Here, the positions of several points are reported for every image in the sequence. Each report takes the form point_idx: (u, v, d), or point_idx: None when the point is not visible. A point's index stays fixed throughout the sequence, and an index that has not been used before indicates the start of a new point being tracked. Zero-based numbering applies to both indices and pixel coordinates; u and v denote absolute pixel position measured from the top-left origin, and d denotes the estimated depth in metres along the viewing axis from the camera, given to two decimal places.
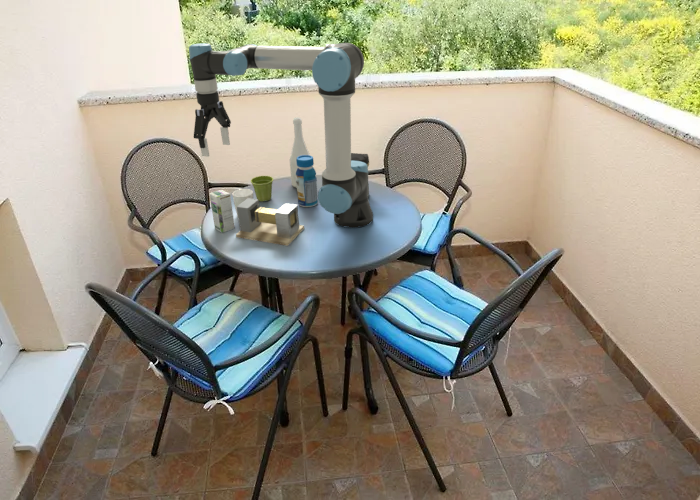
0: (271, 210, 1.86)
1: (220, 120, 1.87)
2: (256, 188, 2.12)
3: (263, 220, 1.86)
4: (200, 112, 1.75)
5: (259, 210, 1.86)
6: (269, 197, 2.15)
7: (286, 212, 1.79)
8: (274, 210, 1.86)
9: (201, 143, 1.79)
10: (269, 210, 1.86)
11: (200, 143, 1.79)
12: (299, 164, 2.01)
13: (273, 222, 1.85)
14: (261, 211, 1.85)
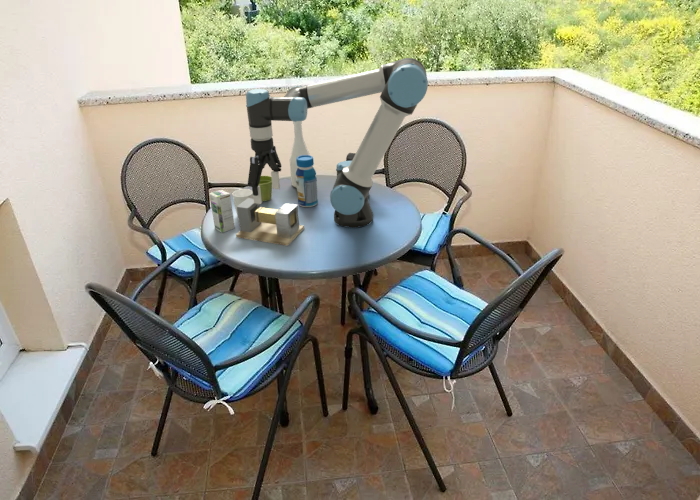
0: (271, 210, 1.86)
1: (272, 165, 1.81)
2: None
3: (263, 220, 1.86)
4: (255, 160, 1.69)
5: (259, 210, 1.86)
6: (269, 197, 2.15)
7: (286, 212, 1.79)
8: (274, 210, 1.86)
9: (254, 191, 1.73)
10: (269, 210, 1.86)
11: (253, 191, 1.73)
12: (299, 164, 2.01)
13: (273, 222, 1.85)
14: (261, 211, 1.85)
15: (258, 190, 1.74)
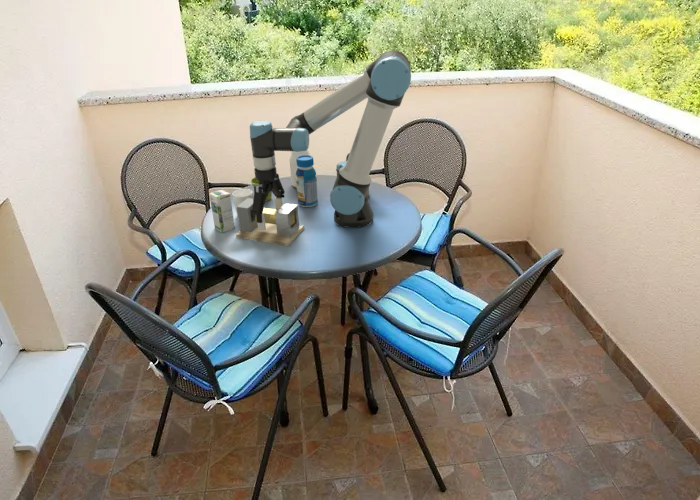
0: (271, 210, 1.86)
1: (275, 192, 1.86)
2: None
3: None
4: (259, 189, 1.74)
5: None
6: (269, 197, 2.15)
7: (286, 212, 1.79)
8: (274, 210, 1.86)
9: (259, 218, 1.78)
10: (269, 210, 1.86)
11: (258, 218, 1.78)
12: (299, 164, 2.01)
13: (273, 222, 1.85)
14: None
15: (262, 217, 1.79)
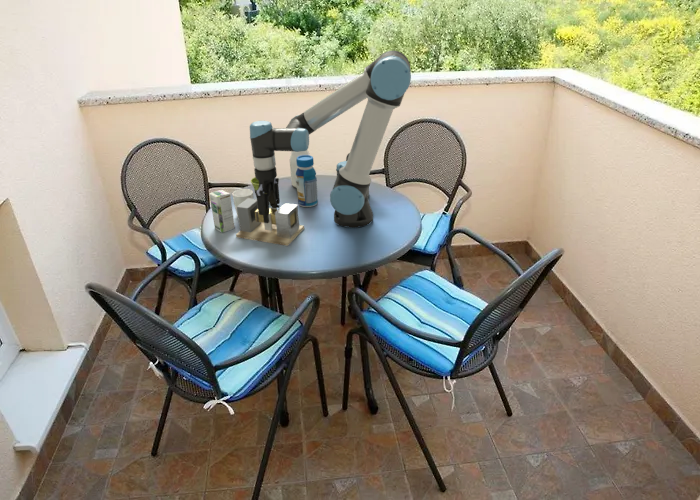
0: (271, 210, 1.86)
1: (272, 197, 1.84)
2: (256, 188, 2.12)
3: (263, 220, 1.86)
4: (260, 193, 1.75)
5: None
6: None
7: (286, 212, 1.79)
8: (274, 210, 1.86)
9: (265, 218, 1.83)
10: (269, 210, 1.86)
11: (264, 218, 1.83)
12: (299, 164, 2.01)
13: (273, 222, 1.85)
14: None
15: (269, 218, 1.83)
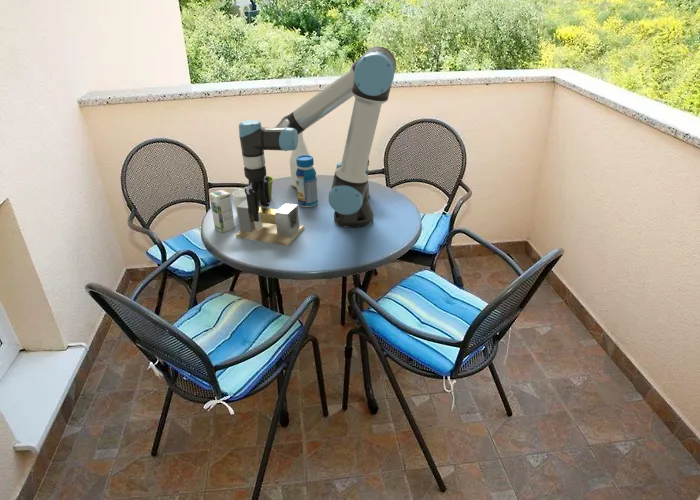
0: (261, 209, 1.87)
1: (262, 196, 1.86)
2: None
3: (253, 219, 1.87)
4: (250, 192, 1.76)
5: None
6: None
7: (286, 212, 1.79)
8: (264, 209, 1.87)
9: (255, 217, 1.84)
10: (259, 209, 1.87)
11: (254, 217, 1.84)
12: (299, 164, 2.01)
13: (263, 220, 1.86)
14: None
15: (259, 216, 1.85)
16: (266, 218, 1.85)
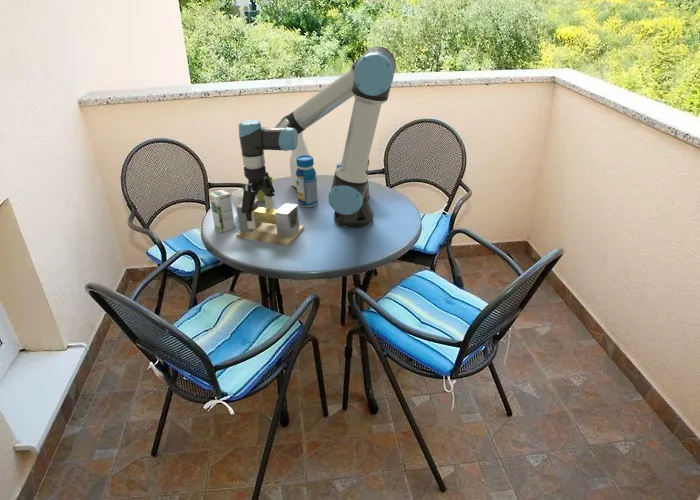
0: (261, 209, 1.87)
1: (265, 190, 1.87)
2: None
3: None
4: (248, 187, 1.75)
5: None
6: None
7: (286, 212, 1.79)
8: (264, 209, 1.87)
9: (248, 217, 1.79)
10: (259, 209, 1.87)
11: (247, 217, 1.79)
12: (299, 164, 2.01)
13: (263, 220, 1.86)
14: None
15: (252, 216, 1.80)
16: (266, 218, 1.85)
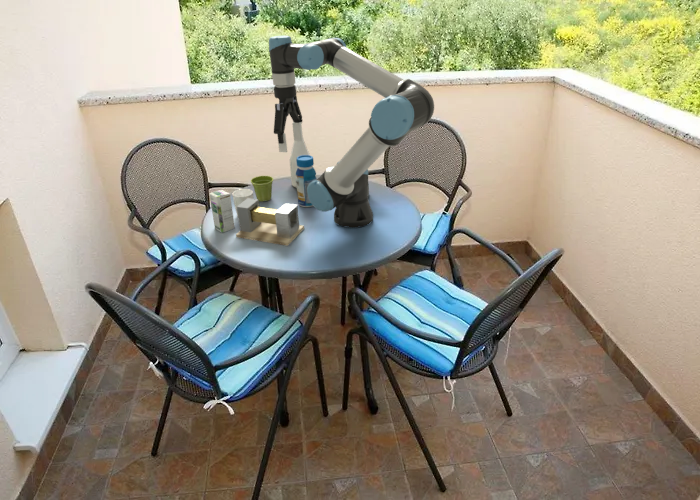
0: (261, 209, 1.87)
1: (294, 115, 1.83)
2: (256, 188, 2.12)
3: (253, 219, 1.87)
4: (280, 106, 1.70)
5: None
6: (269, 197, 2.15)
7: (286, 212, 1.79)
8: (264, 209, 1.87)
9: (280, 138, 1.74)
10: (259, 209, 1.87)
11: (279, 138, 1.74)
12: (299, 164, 2.01)
13: (263, 220, 1.86)
14: (251, 210, 1.87)
15: (284, 138, 1.75)
16: (266, 218, 1.85)
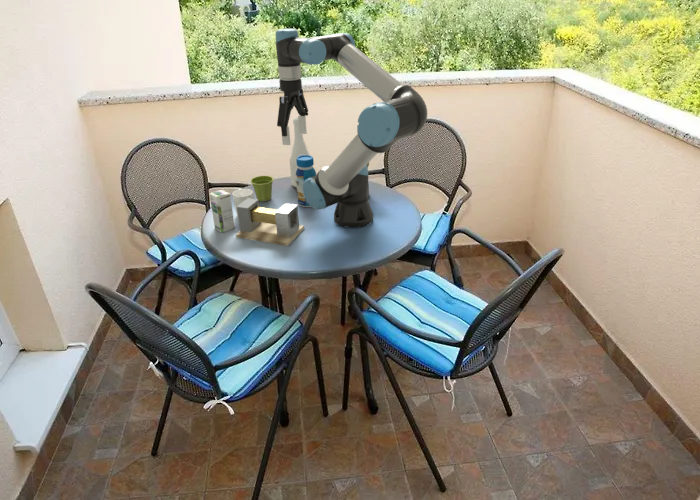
0: (261, 209, 1.87)
1: (299, 108, 1.83)
2: (256, 188, 2.12)
3: (253, 219, 1.87)
4: (285, 99, 1.71)
5: None
6: (269, 197, 2.15)
7: (286, 212, 1.79)
8: (264, 209, 1.87)
9: (284, 131, 1.75)
10: (259, 209, 1.87)
11: (282, 131, 1.75)
12: (299, 164, 2.01)
13: (263, 220, 1.86)
14: (251, 210, 1.87)
15: (287, 131, 1.76)
16: (266, 218, 1.85)
